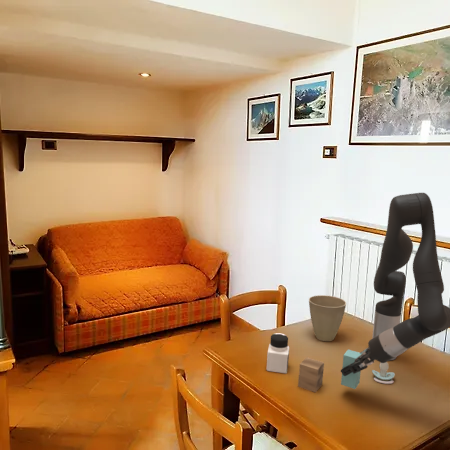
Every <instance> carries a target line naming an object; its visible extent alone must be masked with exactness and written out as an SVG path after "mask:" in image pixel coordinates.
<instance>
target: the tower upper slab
mask: <svg viewBox="0 0 450 450" xmlns="http://www.w3.org/2000/svg"><path fill="white" fill-rule="evenodd" d="M324 368H325V362H324V361H321V360H318V359H315V358H311V357H308V356H306V357H305V358H304V359H302V361H301V362H300V363H299V372H298V377H299V376H302V377H305V378H308V379H311V380H314V381H317V380H318V379H319V378H320V377H321V376H322V375H323V376H324V370H325V369H324Z"/></svg>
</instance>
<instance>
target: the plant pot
mask: <svg viewBox="0 0 450 450" xmlns="http://www.w3.org/2000/svg"><path fill="white" fill-rule="evenodd" d="M308 304H309V305H308V306H309V314H310V319H311V323H312V324H311V325H312V328H313V332H314V336H315V337H316V339H317V340H319V341H323V342H331V341H334V339H335V338H336V335H337V334H338V332H339V330H340V327H341V324H342V321H343V317H344V316H345V315H344V314H345V311H346V307H347V301H346V300H344V299H343V298H340V297H337V296H333V295H327V294H326V295H321V294H319V295H313V296H310V297H308Z"/></svg>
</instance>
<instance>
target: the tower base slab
mask: <svg viewBox="0 0 450 450" xmlns="http://www.w3.org/2000/svg"><path fill="white" fill-rule="evenodd" d="M323 379H324V374H323V375H322V376H321V377H320V378H319V379H318V380H317V381H314V380H311V379H308V378H305V377H302V376H299V375H298V381H297V387H298V388H302V389H303V390H307V391H310V392H312V393H317V391H318V390H319V389H320V388H321V387H322V386H323Z"/></svg>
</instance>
